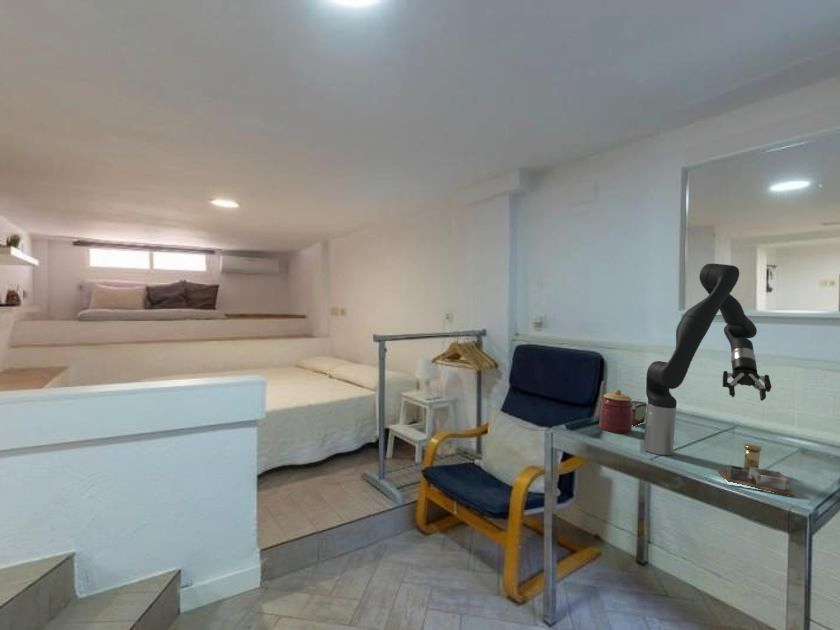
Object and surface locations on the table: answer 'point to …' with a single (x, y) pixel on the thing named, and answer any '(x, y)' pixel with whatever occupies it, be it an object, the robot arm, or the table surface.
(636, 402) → the food container
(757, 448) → the gold round-topped cylinder
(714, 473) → the table surface
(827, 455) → the table surface
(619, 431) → the canister
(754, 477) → the collar base
